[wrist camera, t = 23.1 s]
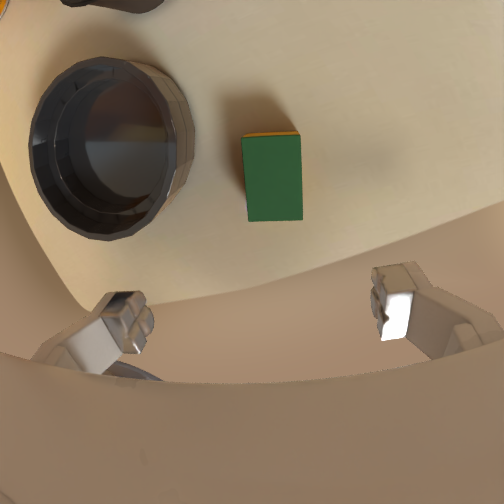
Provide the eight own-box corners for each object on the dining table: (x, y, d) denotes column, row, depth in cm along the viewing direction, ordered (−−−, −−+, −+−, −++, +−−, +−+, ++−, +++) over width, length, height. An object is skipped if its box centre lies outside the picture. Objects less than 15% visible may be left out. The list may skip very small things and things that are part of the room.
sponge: (300, 206, 27) (302, 220, 24) (252, 207, 27) (248, 222, 24) (298, 131, 23) (300, 134, 20) (246, 133, 24) (240, 137, 21)
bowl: (231, 162, 25) (218, 177, 21) (114, 242, 31) (90, 267, 26) (140, 30, 20) (110, 19, 15) (43, 133, 25) (10, 144, 20)
